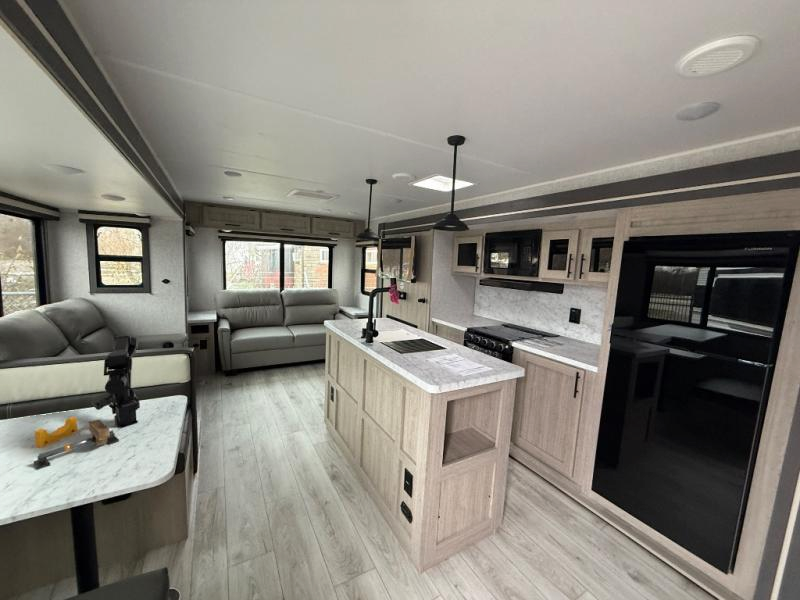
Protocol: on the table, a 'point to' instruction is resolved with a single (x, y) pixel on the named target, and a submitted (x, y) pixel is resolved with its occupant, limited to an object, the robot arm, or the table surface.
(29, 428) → the table surface
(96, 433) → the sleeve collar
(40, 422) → the table surface
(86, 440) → the grey guide rail
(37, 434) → the pipe clamp
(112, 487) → the table surface
